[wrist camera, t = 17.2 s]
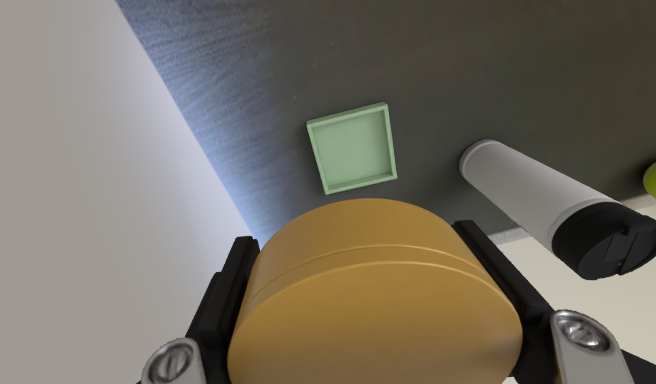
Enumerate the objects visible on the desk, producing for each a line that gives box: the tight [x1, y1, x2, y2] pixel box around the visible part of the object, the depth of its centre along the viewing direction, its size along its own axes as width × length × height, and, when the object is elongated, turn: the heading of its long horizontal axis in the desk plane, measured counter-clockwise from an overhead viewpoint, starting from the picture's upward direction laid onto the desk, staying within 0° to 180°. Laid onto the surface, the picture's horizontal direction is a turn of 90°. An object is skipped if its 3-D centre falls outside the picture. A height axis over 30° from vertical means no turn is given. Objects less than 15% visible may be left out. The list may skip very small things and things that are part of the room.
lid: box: [227, 198, 523, 384], centre depth 8 cm, size 8×8×3 cm
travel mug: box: [459, 139, 656, 280], centre depth 28 cm, size 6×7×20 cm
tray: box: [307, 102, 397, 195], centre depth 35 cm, size 10×10×2 cm
